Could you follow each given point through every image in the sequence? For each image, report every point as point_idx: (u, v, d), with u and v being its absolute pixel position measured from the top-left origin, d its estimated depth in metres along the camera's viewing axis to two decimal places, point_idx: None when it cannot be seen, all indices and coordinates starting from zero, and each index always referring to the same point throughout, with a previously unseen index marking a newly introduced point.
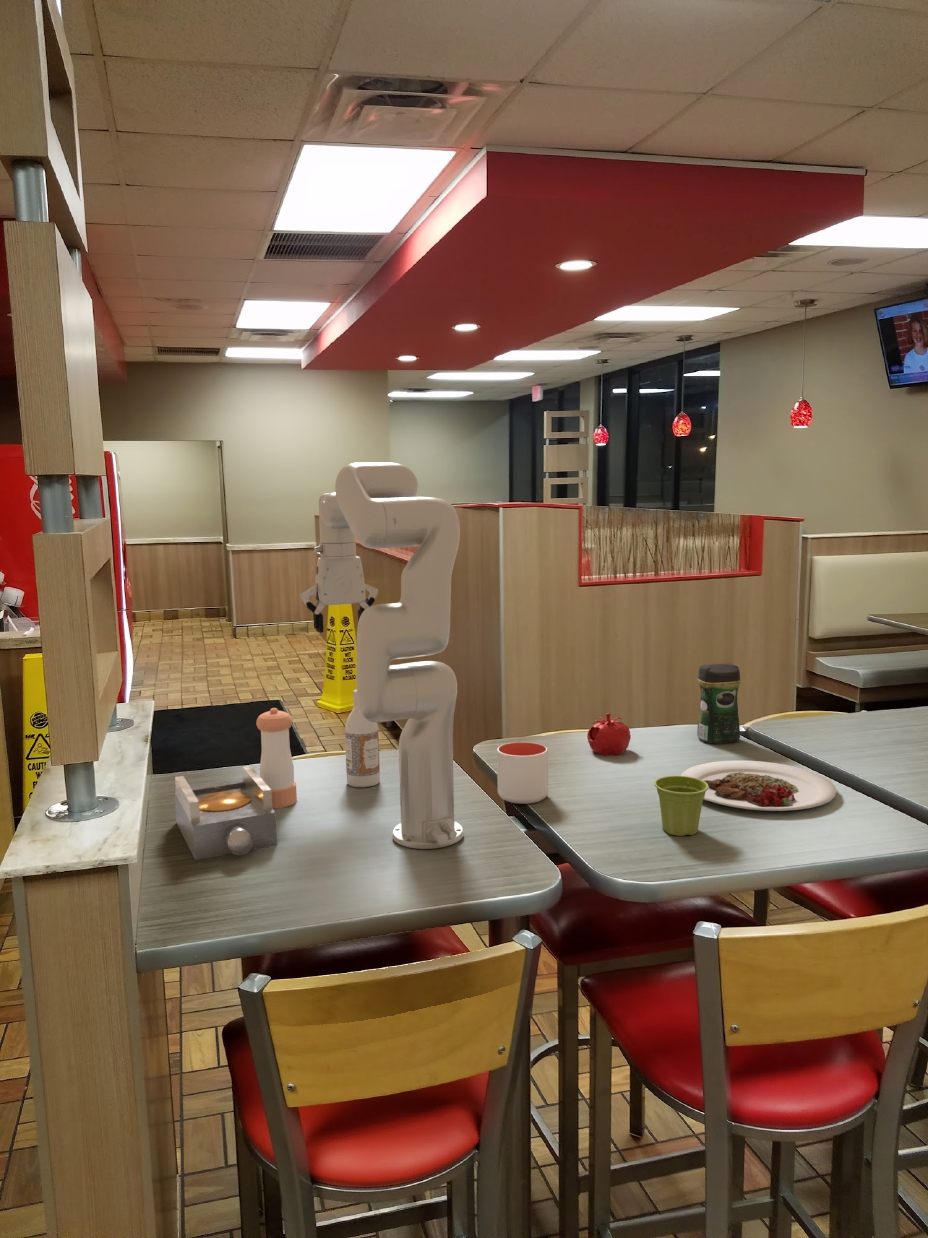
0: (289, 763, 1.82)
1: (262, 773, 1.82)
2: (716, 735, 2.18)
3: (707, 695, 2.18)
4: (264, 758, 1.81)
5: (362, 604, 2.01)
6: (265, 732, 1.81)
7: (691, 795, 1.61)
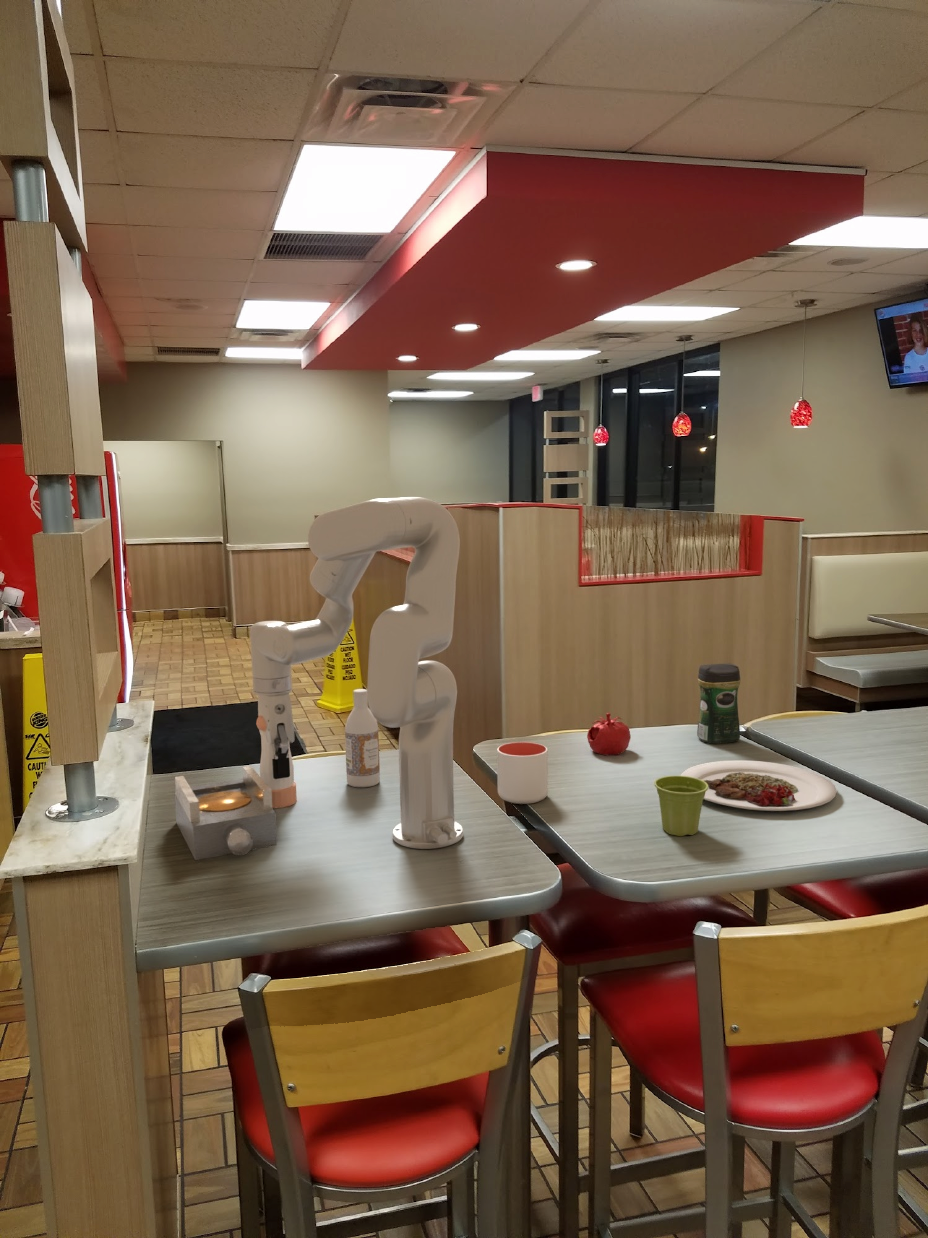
0: (289, 763, 1.82)
1: (262, 773, 1.82)
2: (716, 735, 2.18)
3: (707, 695, 2.18)
4: (264, 758, 1.81)
5: None
6: None
7: (691, 795, 1.61)
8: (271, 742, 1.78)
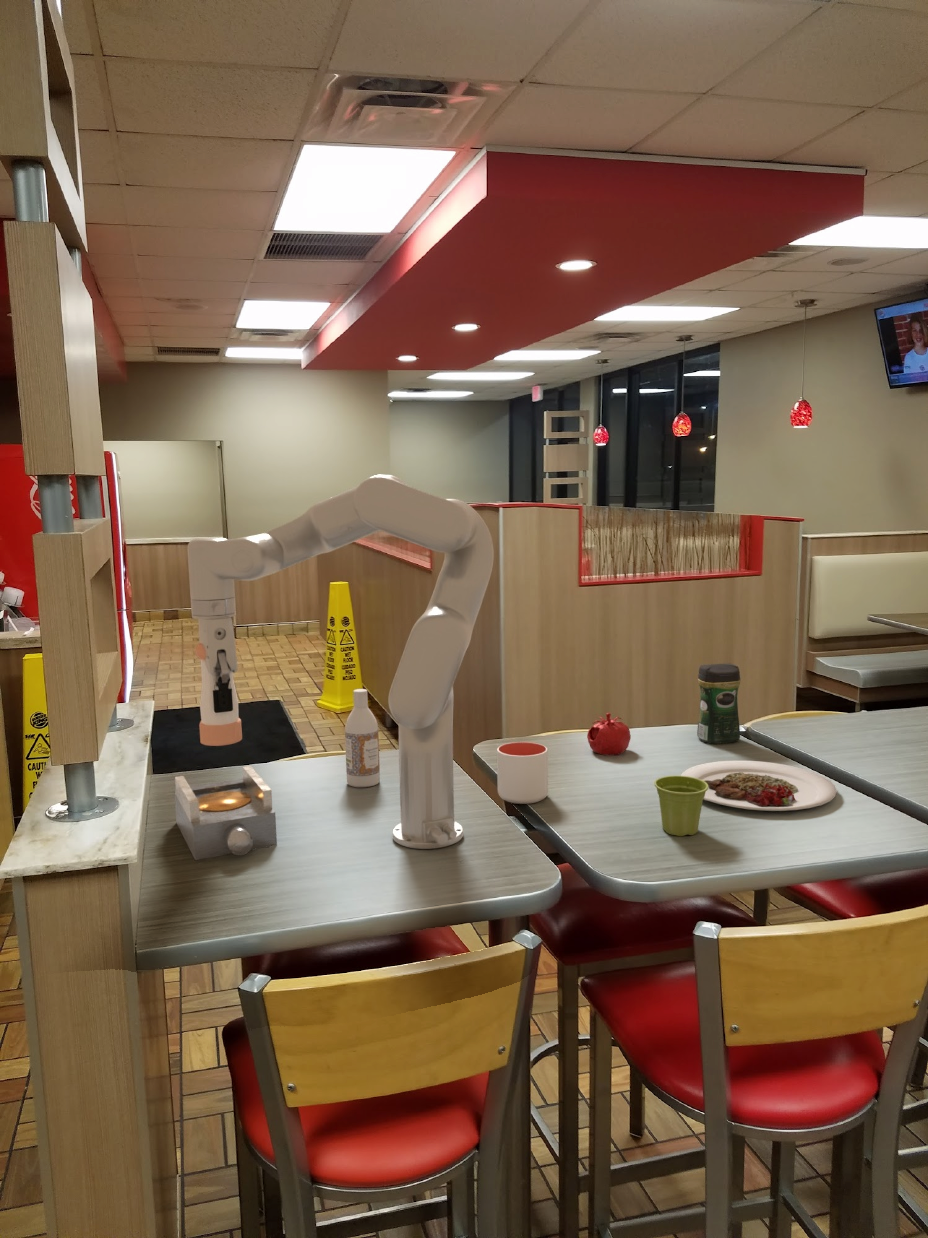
0: (232, 696, 1.64)
1: (202, 707, 1.63)
2: (716, 735, 2.18)
3: (707, 695, 2.18)
4: (204, 690, 1.63)
5: None
6: None
7: (691, 795, 1.61)
8: (211, 671, 1.60)
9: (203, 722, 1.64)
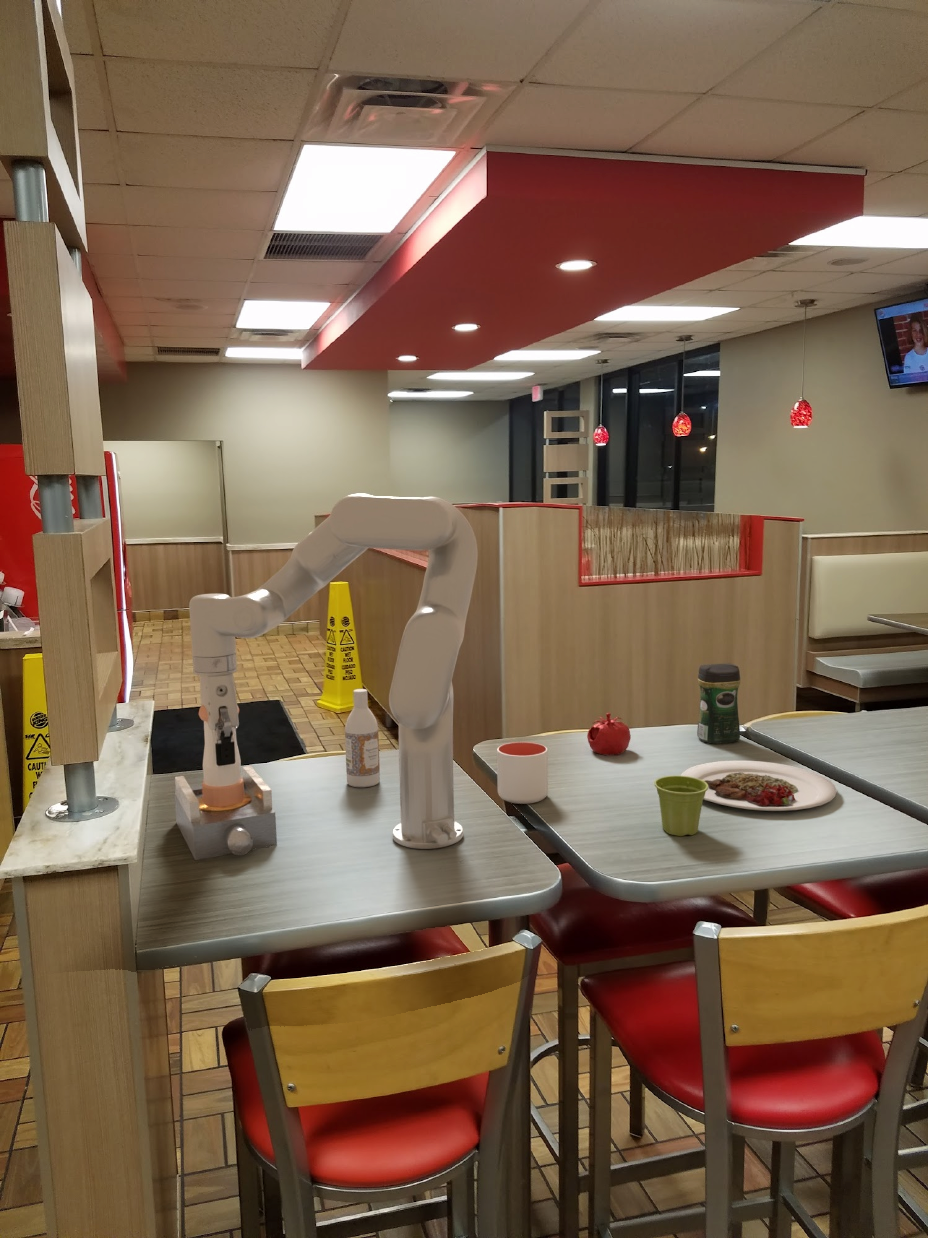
0: (235, 757, 1.65)
1: (205, 768, 1.65)
2: (716, 735, 2.18)
3: (707, 695, 2.18)
4: (207, 751, 1.64)
5: None
6: None
7: (691, 795, 1.61)
8: (212, 727, 1.61)
9: (206, 783, 1.65)
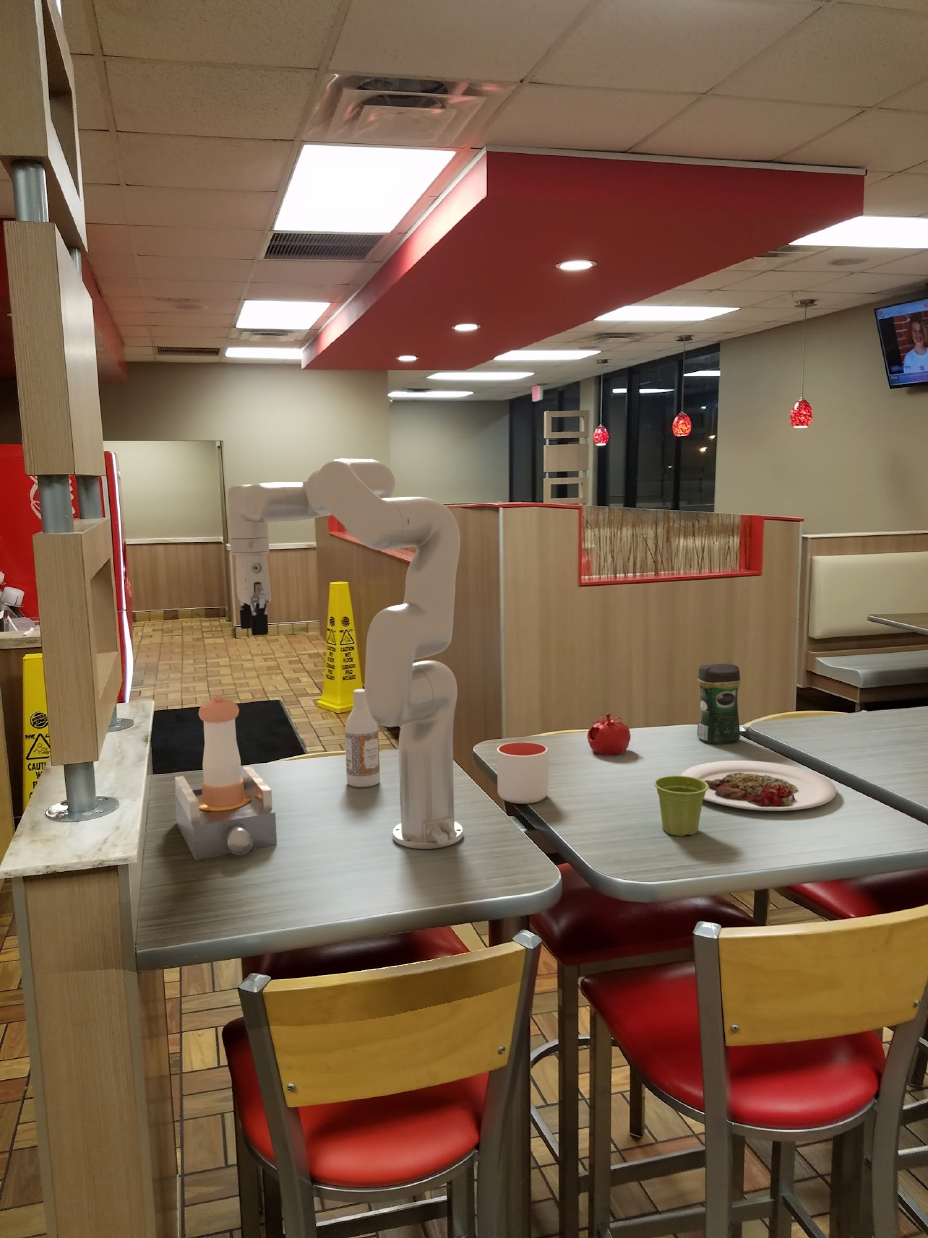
0: (235, 757, 1.65)
1: (205, 768, 1.65)
2: (716, 735, 2.18)
3: (707, 695, 2.18)
4: (207, 751, 1.64)
5: None
6: (208, 723, 1.63)
7: (691, 795, 1.61)
8: (248, 601, 1.82)
9: (206, 783, 1.65)
